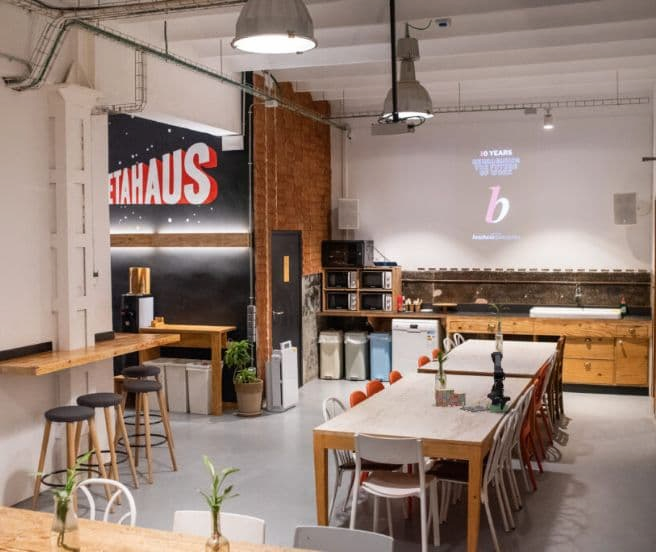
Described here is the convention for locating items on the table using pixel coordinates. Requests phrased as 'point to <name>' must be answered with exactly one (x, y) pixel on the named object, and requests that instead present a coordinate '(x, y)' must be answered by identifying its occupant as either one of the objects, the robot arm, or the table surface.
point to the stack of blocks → (449, 397)
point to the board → (498, 408)
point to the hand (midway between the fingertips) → (498, 409)
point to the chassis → (475, 407)
